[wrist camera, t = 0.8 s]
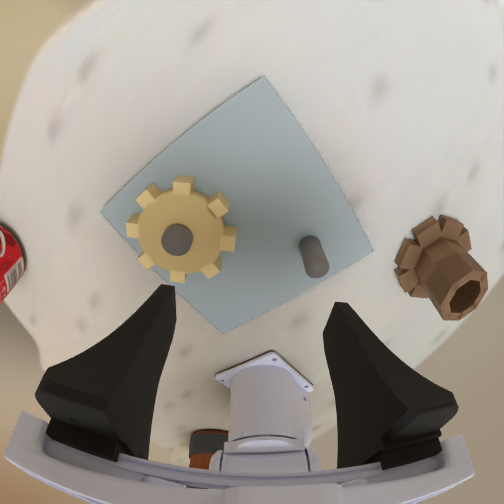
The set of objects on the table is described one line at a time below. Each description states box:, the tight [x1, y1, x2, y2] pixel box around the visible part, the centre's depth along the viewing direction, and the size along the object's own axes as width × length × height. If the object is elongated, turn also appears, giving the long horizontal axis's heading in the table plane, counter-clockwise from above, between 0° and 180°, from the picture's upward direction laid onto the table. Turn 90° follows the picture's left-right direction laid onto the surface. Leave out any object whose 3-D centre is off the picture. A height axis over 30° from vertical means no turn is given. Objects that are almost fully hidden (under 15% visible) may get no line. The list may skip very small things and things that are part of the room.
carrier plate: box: [100, 76, 374, 334], centre depth 20 cm, size 15×15×4 cm
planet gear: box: [395, 215, 488, 320], centre depth 20 cm, size 8×8×6 cm
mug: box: [186, 430, 229, 489], centre depth 37 cm, size 9×12×12 cm
